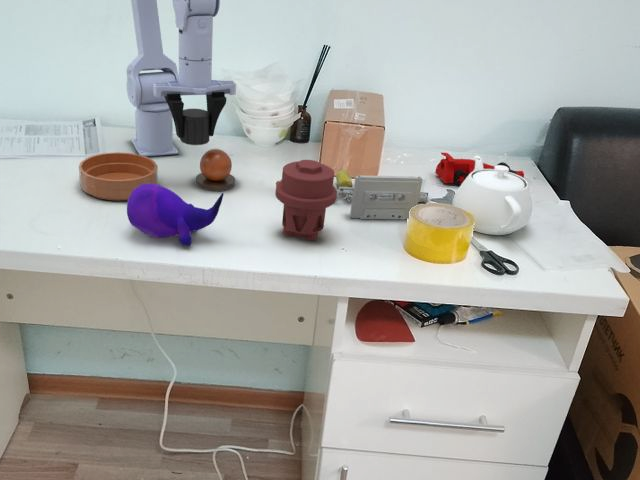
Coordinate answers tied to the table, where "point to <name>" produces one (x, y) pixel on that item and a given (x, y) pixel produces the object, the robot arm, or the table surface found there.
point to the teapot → (495, 199)
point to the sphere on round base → (215, 171)
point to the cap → (195, 126)
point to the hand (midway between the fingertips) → (194, 135)
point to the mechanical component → (305, 197)
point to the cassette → (384, 207)
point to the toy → (167, 213)
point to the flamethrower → (347, 188)
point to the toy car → (461, 169)
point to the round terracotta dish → (116, 174)
